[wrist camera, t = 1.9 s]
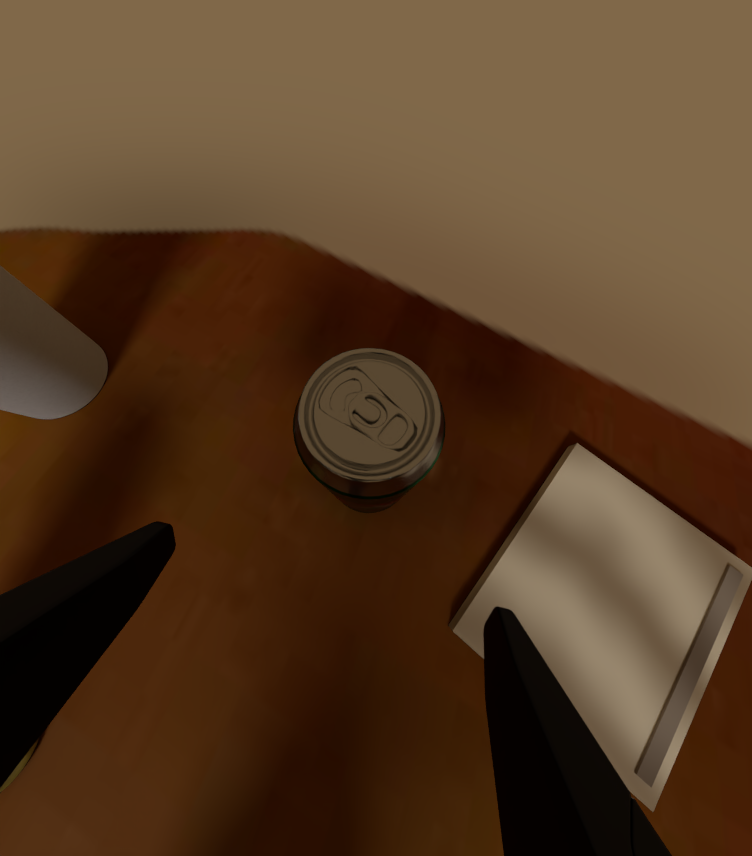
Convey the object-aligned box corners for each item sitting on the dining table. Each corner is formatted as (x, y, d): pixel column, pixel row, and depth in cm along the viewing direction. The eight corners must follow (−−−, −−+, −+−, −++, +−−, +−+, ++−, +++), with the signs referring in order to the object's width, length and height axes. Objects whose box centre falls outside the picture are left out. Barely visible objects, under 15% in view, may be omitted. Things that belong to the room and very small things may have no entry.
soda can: (363, 422, 22) (357, 309, 11) (422, 467, 21) (486, 397, 10) (314, 480, 21) (248, 422, 9) (375, 530, 20) (384, 535, 8)
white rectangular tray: (636, 795, 16) (655, 814, 15) (448, 625, 18) (453, 631, 17) (736, 568, 20) (758, 570, 19) (568, 446, 22) (578, 442, 21)
